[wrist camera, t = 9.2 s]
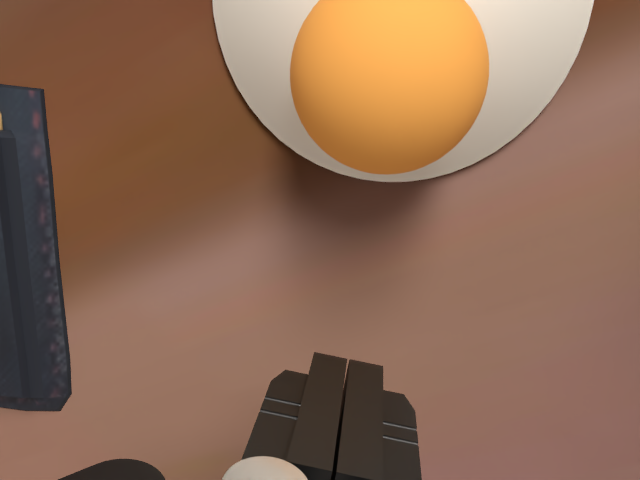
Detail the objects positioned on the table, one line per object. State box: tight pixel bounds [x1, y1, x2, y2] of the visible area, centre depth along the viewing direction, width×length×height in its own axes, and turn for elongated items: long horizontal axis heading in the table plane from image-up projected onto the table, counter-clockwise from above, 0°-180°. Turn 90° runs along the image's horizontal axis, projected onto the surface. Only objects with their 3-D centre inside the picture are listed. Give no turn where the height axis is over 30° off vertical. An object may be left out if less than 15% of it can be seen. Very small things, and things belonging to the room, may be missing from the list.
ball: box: [290, 0, 489, 175], centre depth 17 cm, size 6×6×6 cm
